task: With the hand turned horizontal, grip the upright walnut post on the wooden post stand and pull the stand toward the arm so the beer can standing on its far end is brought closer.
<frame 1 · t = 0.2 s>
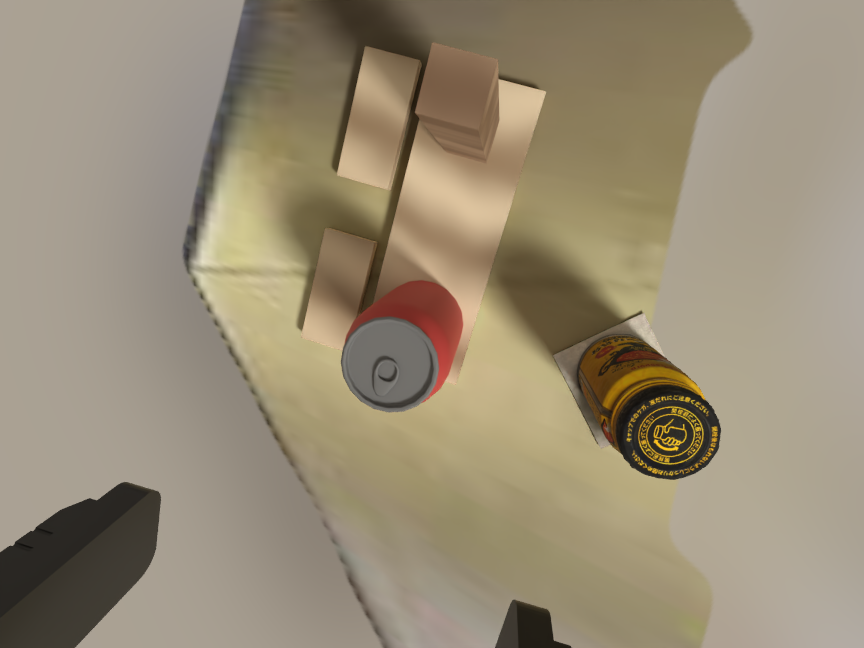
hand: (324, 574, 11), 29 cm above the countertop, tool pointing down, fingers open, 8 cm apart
wooden post stand: (434, 235, 30), point 7 cm above the countertop, slide at 0.0 cm, touching beer can
broken strip: (359, 209, 38), on the countertop
beer can: (423, 319, 39), on the countertop, touching wooden post stand
condiment: (620, 380, 38), on the countertop
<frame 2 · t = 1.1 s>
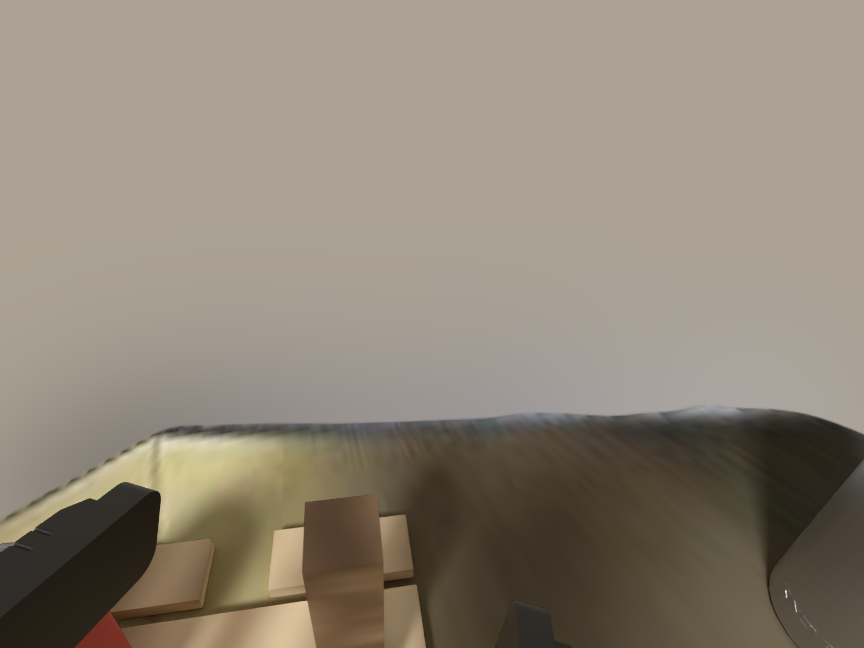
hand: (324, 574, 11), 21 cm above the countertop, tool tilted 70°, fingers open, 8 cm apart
wooden post stand: (194, 639, 22), point 7 cm above the countertop, slide at 0.1 cm, touching beer can
broken strip: (241, 571, 32), on the countertop
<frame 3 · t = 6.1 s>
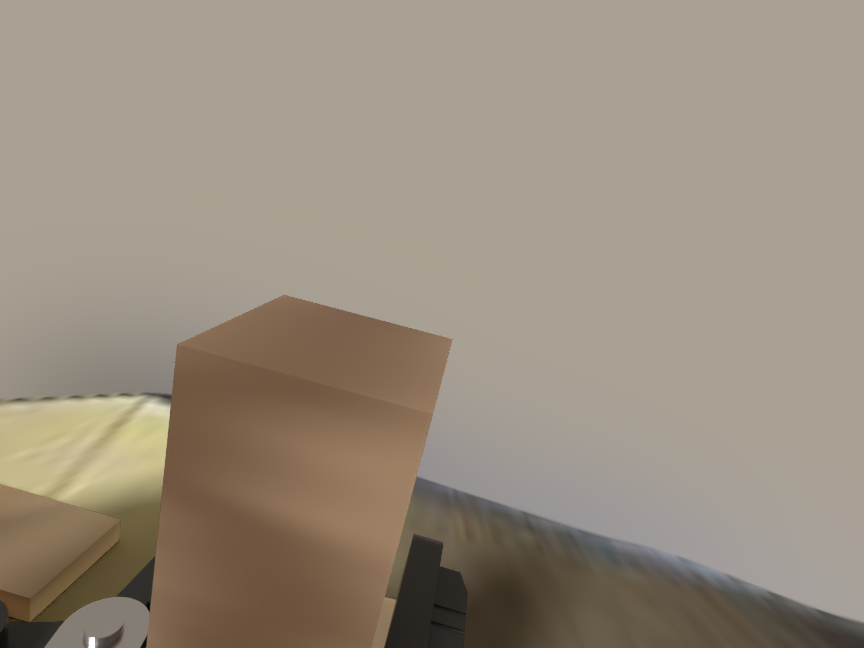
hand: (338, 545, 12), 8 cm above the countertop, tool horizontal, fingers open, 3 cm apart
broken strip: (130, 592, 18), on the countertop
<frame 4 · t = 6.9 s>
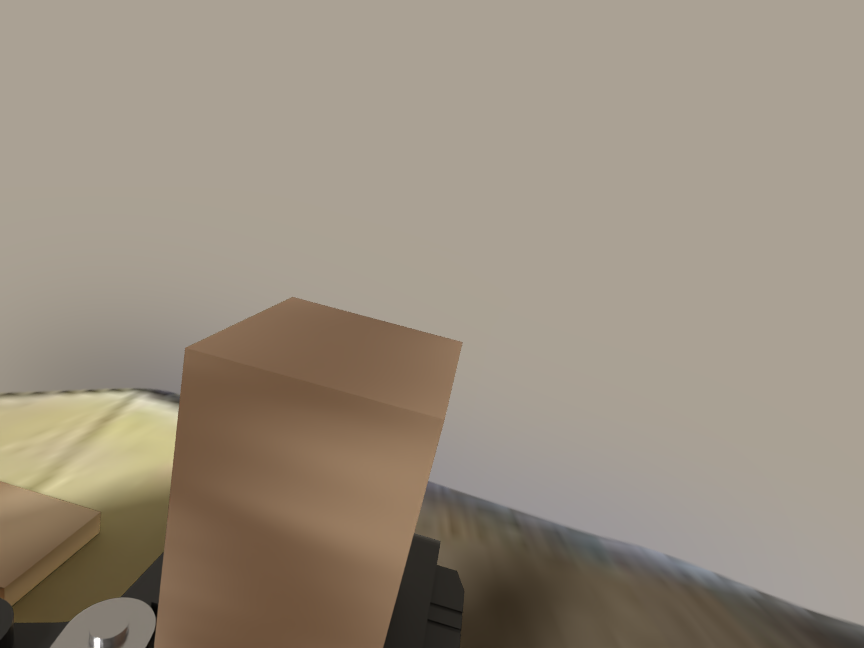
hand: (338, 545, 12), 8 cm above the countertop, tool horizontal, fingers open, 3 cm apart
broken strip: (107, 583, 18), on the countertop
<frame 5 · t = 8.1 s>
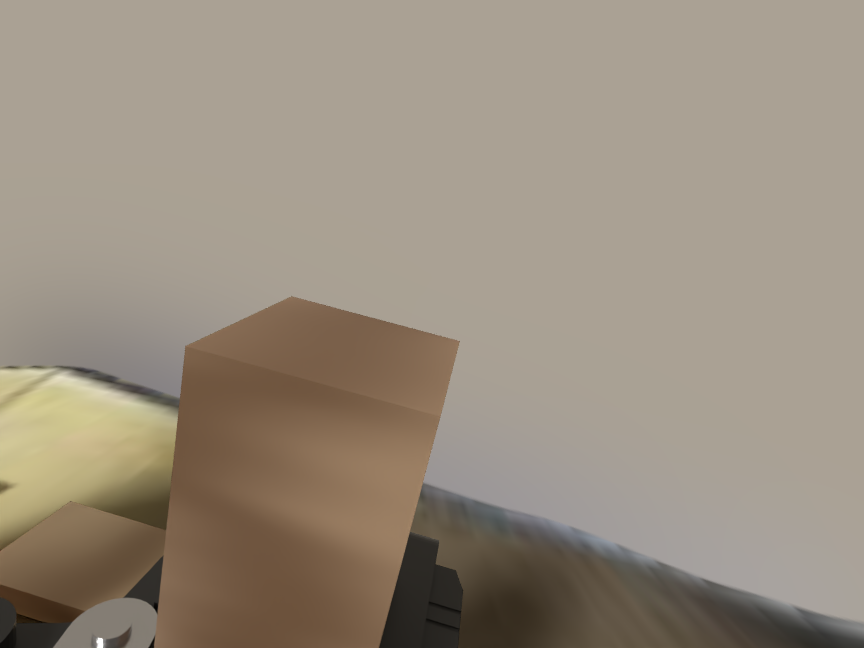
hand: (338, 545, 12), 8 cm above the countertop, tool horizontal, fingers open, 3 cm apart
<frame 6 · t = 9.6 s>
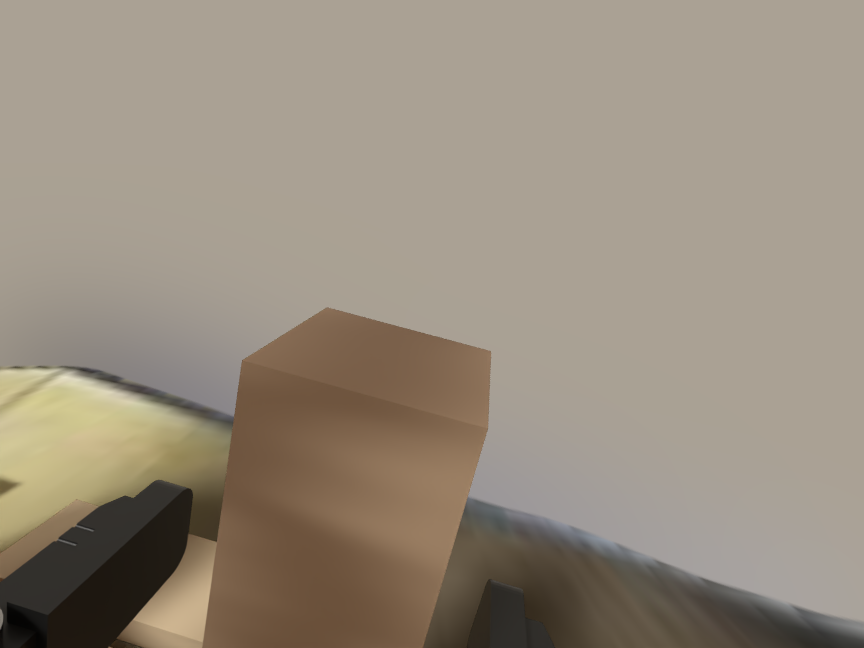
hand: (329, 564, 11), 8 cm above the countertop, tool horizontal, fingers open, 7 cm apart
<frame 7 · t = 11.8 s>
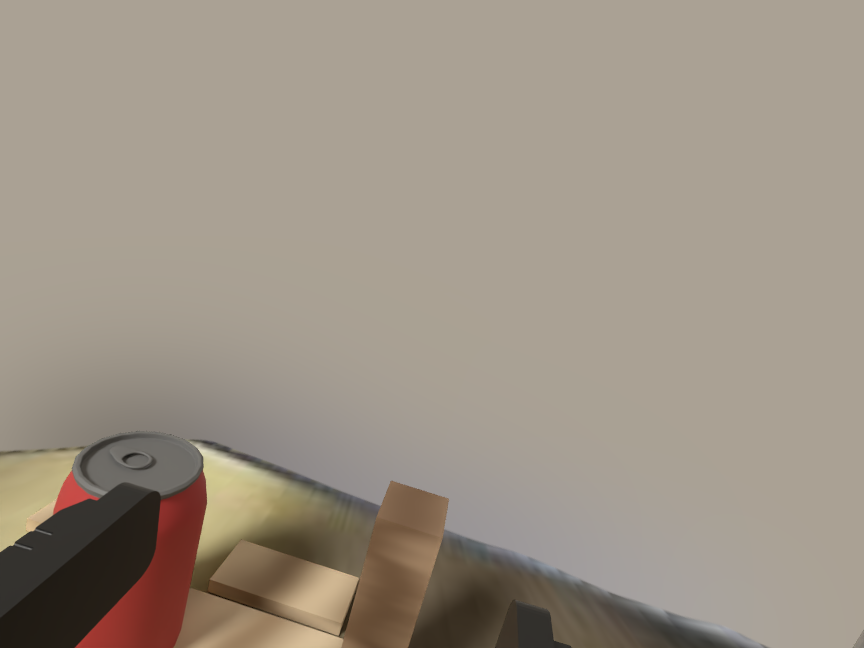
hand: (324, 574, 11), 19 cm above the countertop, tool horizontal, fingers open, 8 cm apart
wooden post stand: (249, 581, 25), point 7 cm above the countertop, slide at 6.4 cm, touching beer can
broken strip: (197, 561, 34), on the countertop
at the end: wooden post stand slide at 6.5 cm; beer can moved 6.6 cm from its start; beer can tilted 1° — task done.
